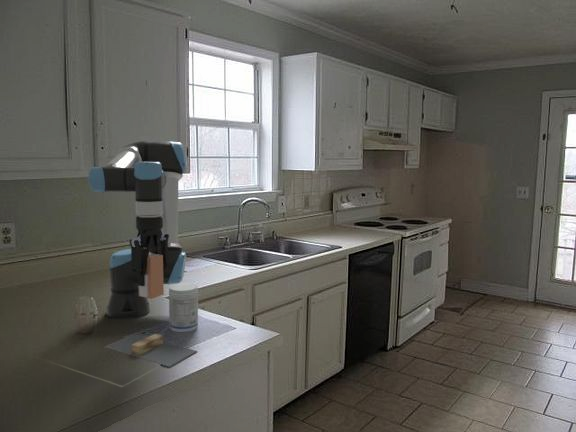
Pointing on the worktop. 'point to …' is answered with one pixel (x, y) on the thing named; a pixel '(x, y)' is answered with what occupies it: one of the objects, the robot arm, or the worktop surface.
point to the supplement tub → (183, 307)
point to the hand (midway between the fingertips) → (151, 293)
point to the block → (154, 275)
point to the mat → (154, 351)
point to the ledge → (146, 344)
